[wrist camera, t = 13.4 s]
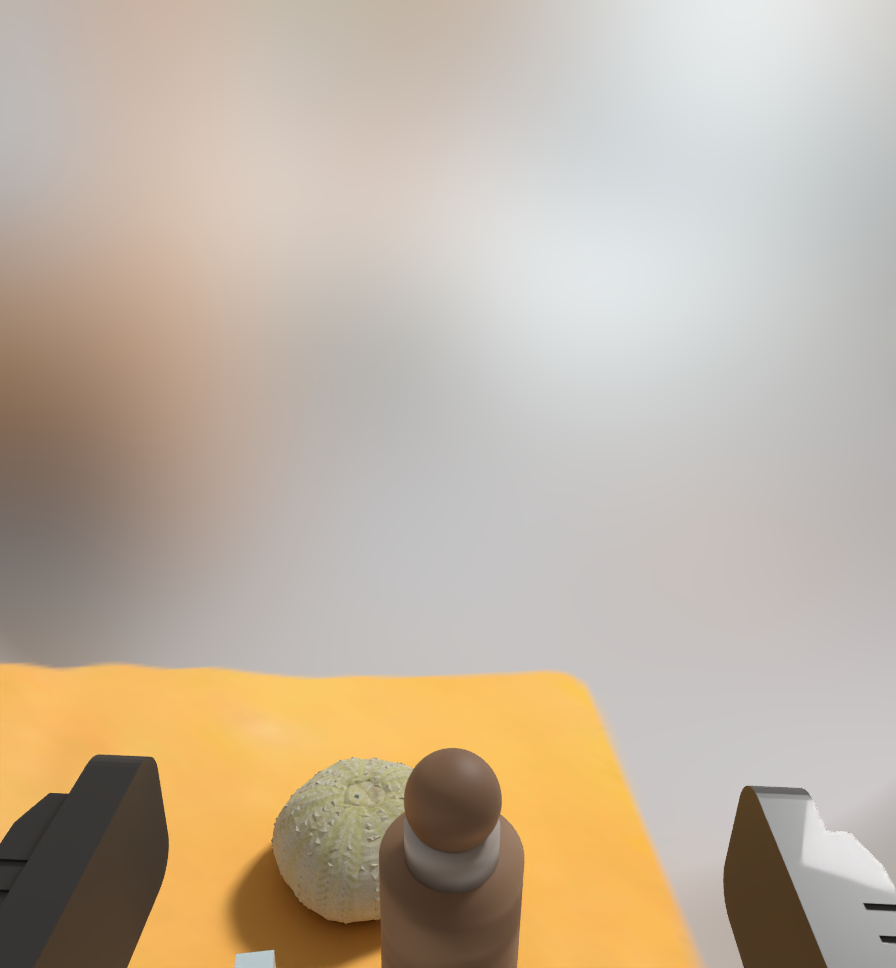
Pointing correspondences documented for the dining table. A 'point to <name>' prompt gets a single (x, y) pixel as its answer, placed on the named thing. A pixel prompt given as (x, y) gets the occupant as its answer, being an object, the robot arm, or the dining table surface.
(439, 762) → the pepper mill
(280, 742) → the dining table surface
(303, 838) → the sea urchin shell
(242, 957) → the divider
